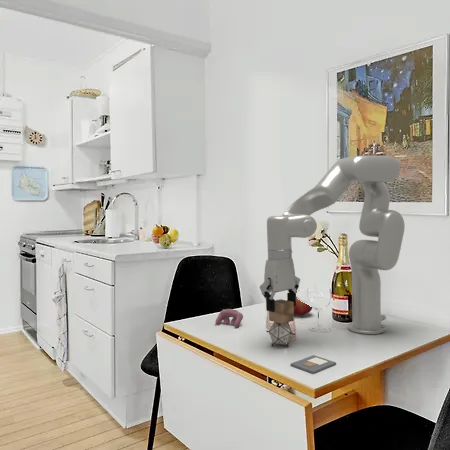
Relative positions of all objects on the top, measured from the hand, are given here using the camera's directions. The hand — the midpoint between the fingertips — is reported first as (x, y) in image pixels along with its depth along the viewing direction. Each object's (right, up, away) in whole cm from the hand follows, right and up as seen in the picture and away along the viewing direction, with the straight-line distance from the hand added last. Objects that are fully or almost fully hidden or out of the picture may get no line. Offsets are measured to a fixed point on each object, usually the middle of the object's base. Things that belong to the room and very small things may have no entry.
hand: (281, 308), depth 138 cm
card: (+7, -13, -17) cm, 22 cm away
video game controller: (-16, -11, +25) cm, 32 cm away
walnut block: (0, -4, 0) cm, 4 cm away
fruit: (+12, -10, +36) cm, 39 cm away
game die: (0, -12, 0) cm, 12 cm away
